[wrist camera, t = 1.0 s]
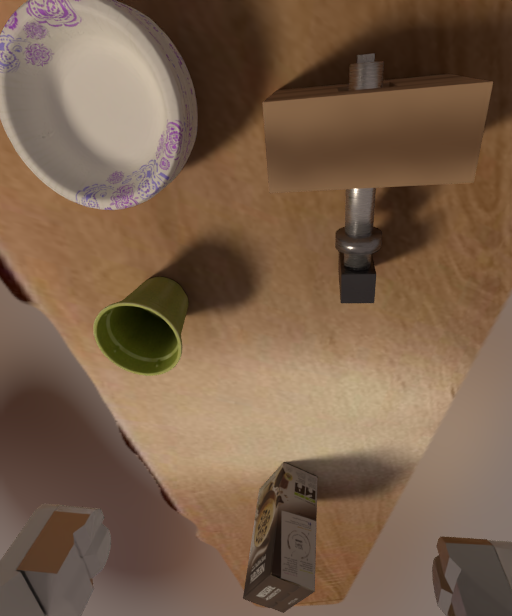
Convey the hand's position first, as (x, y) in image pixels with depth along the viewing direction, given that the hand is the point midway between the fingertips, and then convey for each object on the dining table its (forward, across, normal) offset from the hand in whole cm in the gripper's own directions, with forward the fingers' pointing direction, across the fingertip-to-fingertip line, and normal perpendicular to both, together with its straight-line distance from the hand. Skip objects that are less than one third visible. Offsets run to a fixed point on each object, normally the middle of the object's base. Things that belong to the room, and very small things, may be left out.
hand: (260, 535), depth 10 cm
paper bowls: (+34, +16, -10) cm, 39 cm away
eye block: (+33, -5, -8) cm, 35 cm away
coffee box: (+39, +3, +45) cm, 60 cm away
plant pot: (+36, +17, +10) cm, 41 cm away
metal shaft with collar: (+34, -5, -3) cm, 34 cm away
